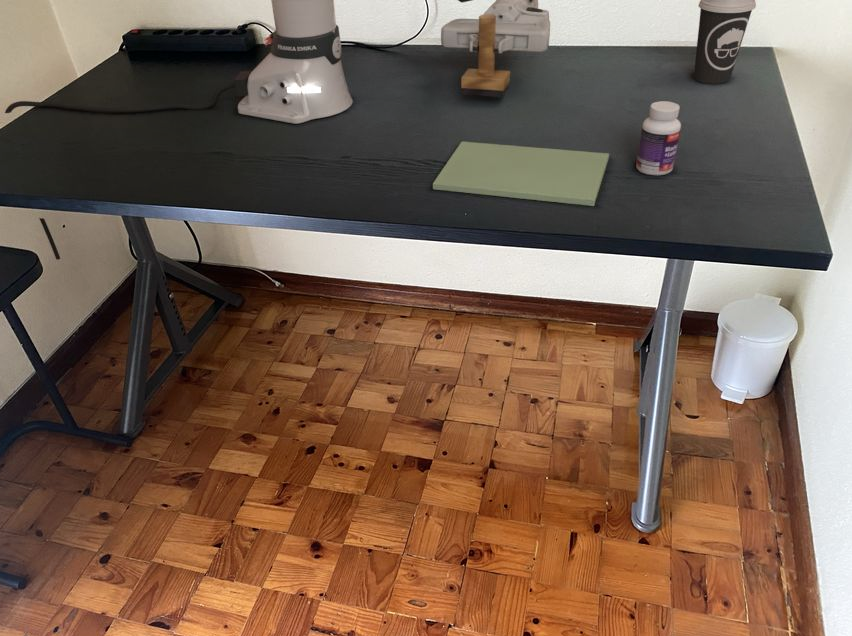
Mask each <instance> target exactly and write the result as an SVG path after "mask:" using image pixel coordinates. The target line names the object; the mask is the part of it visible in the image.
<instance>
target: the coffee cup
mask: <svg viewBox="0 0 852 636" xmlns="http://www.w3.org/2000/svg"><path fill="white" fill-rule="evenodd" d="M698 7H699V8H700V12H699V22H698V30H697V31H698V32H697V40H696V50H695V59H694V60H695V61H694V69H693V80H694V81H696V82H698V83H702V84H707V85H721V84H726V83H728V82H729V81H730V80H731V77H732V74H733V72H734V68H735V65H736V62H737V58H738V56H739V52H740V48H741V47H742V42H743V39H744V36H745V33H746V30H747V27H748V24H749V21H750V17H751V14H752V11H753V10H755V9H756V7H757V2H756V0H699V3H698Z"/></svg>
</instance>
